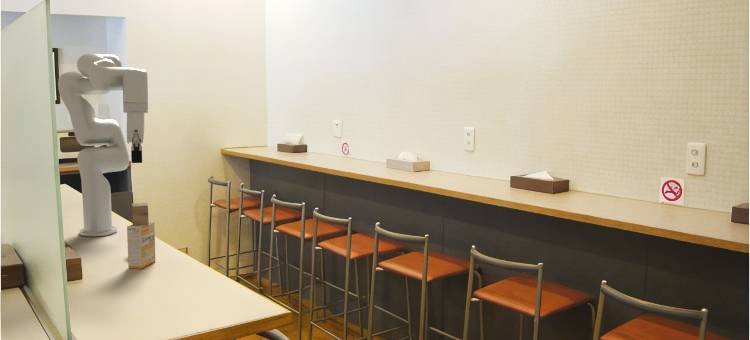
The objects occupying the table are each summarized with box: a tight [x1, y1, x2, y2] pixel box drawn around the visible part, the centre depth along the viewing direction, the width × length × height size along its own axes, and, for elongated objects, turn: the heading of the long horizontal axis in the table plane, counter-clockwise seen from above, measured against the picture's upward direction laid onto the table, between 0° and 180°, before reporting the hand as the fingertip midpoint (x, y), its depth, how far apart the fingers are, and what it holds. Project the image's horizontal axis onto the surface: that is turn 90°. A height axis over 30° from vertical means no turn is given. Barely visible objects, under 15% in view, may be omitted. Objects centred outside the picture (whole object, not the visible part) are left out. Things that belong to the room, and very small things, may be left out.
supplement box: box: [126, 220, 156, 270], centre depth 197 cm, size 8×5×13 cm, turn 169°
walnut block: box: [131, 202, 150, 226], centre depth 196 cm, size 4×4×6 cm
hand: (136, 160), depth 209 cm, fingers open, 9 cm apart
